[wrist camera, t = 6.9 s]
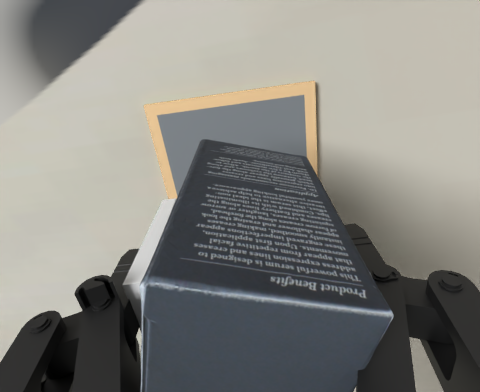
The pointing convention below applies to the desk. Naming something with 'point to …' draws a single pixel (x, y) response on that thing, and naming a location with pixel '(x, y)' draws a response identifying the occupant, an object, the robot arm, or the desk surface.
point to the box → (256, 283)
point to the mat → (233, 126)
